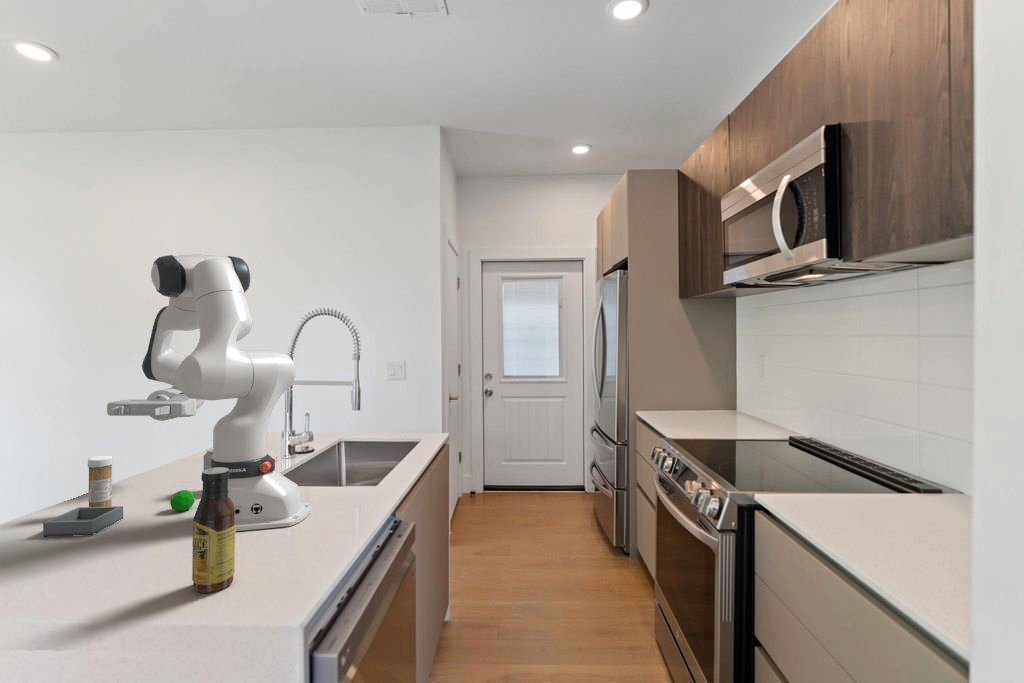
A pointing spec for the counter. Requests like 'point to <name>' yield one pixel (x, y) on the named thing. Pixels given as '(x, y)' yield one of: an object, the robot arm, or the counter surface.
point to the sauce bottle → (214, 534)
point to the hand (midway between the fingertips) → (133, 412)
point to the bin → (83, 521)
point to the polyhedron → (182, 500)
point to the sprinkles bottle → (100, 481)
